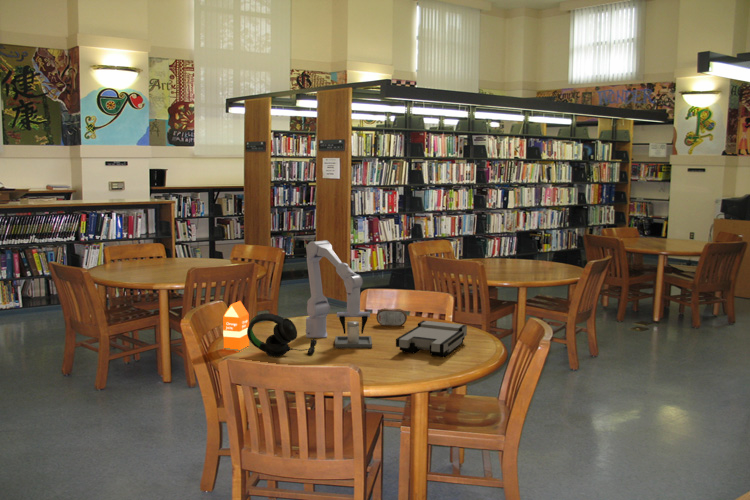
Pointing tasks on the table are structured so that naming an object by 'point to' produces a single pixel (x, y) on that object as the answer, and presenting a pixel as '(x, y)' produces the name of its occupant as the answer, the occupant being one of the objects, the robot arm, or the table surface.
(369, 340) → the tray
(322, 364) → the table surface
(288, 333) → the headset
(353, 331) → the cylinder
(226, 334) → the orange juice
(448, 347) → the game console
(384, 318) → the tin
